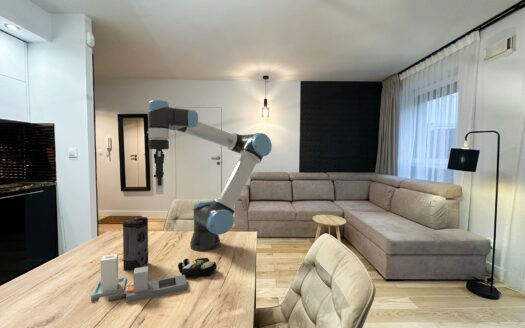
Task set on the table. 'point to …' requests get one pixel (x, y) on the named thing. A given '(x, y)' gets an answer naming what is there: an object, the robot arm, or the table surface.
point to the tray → (98, 293)
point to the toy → (197, 268)
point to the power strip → (151, 286)
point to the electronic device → (135, 243)
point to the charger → (109, 272)
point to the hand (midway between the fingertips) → (159, 191)
